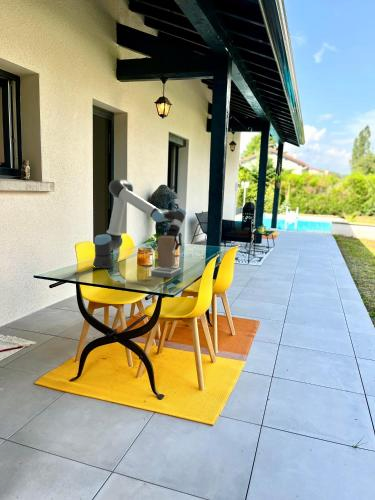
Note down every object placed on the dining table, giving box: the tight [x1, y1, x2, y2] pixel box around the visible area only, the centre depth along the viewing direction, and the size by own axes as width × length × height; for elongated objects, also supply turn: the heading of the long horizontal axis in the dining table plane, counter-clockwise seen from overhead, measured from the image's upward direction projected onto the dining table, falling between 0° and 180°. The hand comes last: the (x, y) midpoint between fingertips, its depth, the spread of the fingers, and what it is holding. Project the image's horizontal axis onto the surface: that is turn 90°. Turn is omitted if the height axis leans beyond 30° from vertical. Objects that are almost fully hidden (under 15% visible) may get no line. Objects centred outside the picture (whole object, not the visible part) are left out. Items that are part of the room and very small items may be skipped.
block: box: [157, 234, 176, 267], centre depth 254 cm, size 10×10×20 cm
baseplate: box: [150, 266, 182, 279], centre depth 257 cm, size 15×15×4 cm
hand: (164, 252), depth 252 cm, fingers closed on block, 12 cm apart
